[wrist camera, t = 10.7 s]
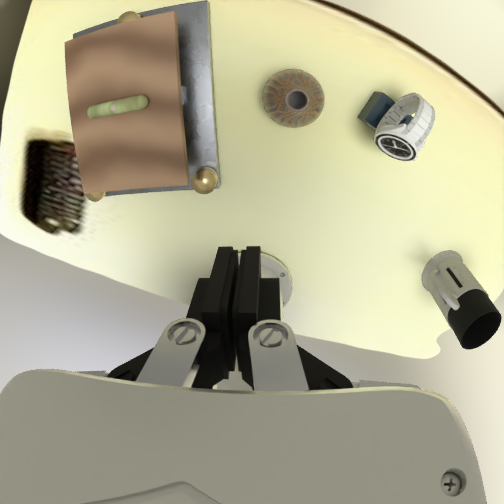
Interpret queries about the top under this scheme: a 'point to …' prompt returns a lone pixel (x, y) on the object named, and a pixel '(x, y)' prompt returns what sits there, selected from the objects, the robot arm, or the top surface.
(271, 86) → the vase
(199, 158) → the base
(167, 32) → the plate
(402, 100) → the watch
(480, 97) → the top surface
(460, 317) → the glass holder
